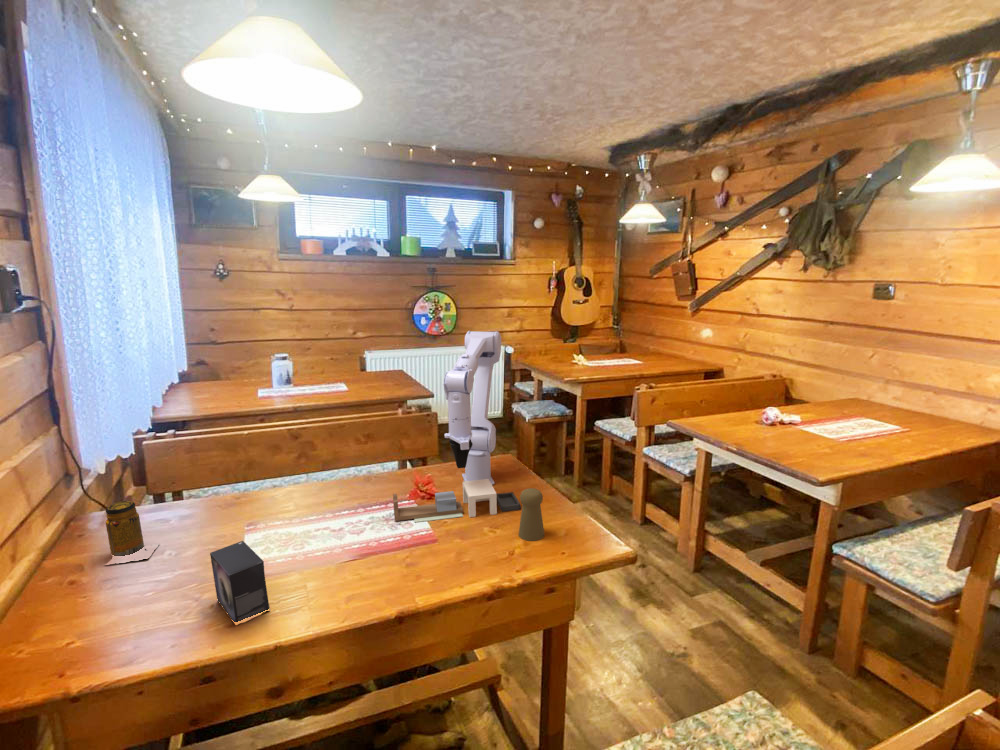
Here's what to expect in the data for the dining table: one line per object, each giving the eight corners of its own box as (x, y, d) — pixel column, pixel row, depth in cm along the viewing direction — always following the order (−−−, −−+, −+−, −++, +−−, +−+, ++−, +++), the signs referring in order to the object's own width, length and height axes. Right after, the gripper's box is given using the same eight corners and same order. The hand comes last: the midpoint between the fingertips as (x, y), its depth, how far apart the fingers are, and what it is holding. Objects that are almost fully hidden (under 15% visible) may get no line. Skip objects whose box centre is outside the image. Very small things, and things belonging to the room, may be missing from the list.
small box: (214, 602, 102) (207, 551, 100) (249, 587, 107) (243, 539, 104) (234, 628, 95) (227, 574, 93) (271, 611, 99) (265, 559, 97)
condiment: (118, 549, 122) (109, 500, 119) (160, 544, 124) (152, 496, 121) (103, 566, 115) (94, 515, 112) (148, 561, 117) (139, 510, 114)
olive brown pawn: (545, 541, 122) (545, 496, 120) (518, 541, 122) (518, 496, 120) (543, 528, 128) (543, 485, 126) (518, 528, 128) (518, 485, 126)
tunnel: (463, 501, 143) (462, 481, 142) (488, 498, 145) (488, 478, 144) (469, 517, 134) (468, 496, 133) (496, 514, 136) (496, 493, 135)
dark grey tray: (494, 498, 144) (494, 494, 144) (512, 496, 146) (512, 492, 145) (501, 512, 137) (501, 506, 137) (520, 509, 138) (520, 504, 138)
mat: (412, 508, 140) (412, 507, 140) (458, 503, 142) (458, 502, 142) (414, 522, 132) (414, 521, 132) (463, 516, 135) (463, 515, 135)
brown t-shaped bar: (393, 512, 137) (392, 494, 136) (459, 504, 141) (459, 486, 140) (394, 520, 132) (393, 502, 131) (462, 512, 136) (462, 494, 135)
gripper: (440, 410, 143) (442, 458, 145) (447, 426, 129) (449, 479, 132) (466, 408, 144) (468, 456, 147) (476, 423, 130) (478, 476, 133)
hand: (461, 467), depth 139 cm, fingers closed
